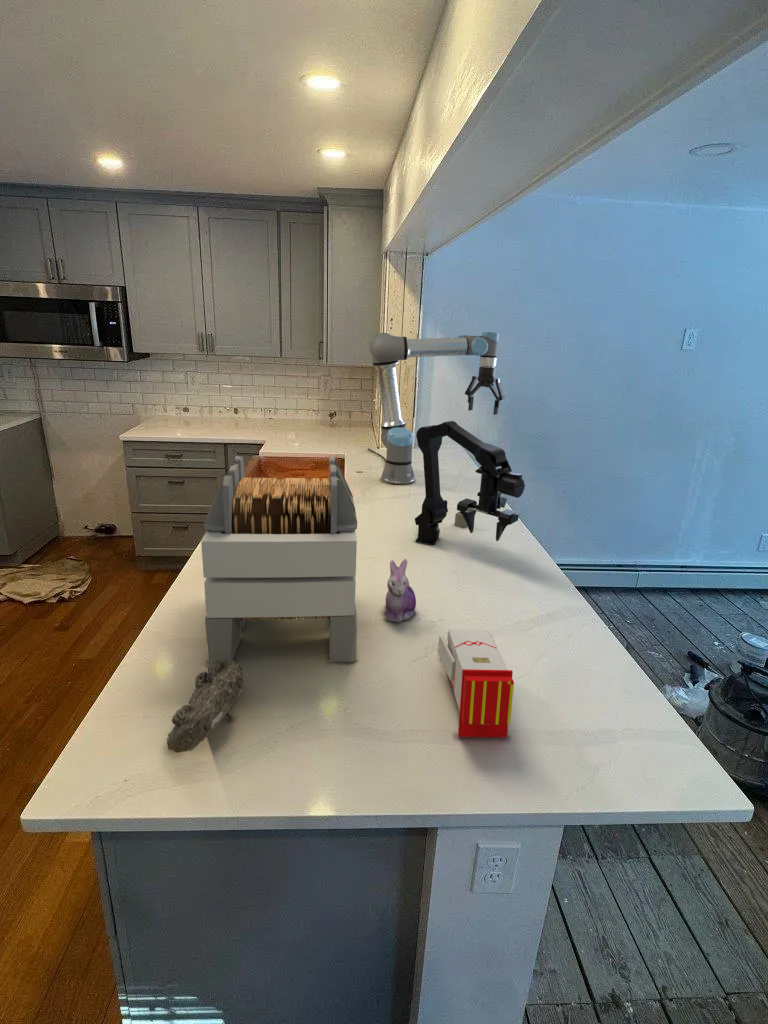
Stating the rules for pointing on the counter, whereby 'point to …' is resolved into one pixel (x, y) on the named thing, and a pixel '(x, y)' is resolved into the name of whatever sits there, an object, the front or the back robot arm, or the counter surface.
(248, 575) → the record storage crate
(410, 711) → the counter surface
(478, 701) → the toy
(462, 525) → the block
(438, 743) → the counter surface
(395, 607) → the figurine
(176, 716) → the fossil
